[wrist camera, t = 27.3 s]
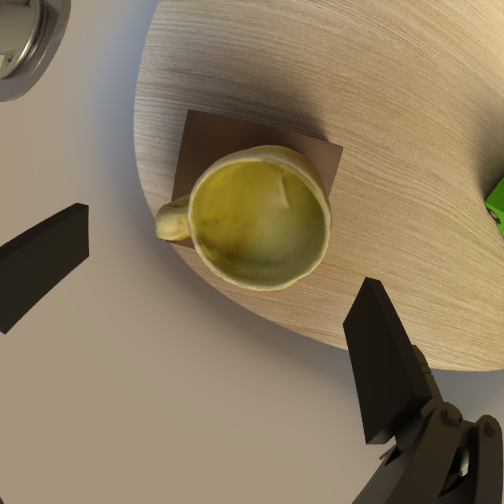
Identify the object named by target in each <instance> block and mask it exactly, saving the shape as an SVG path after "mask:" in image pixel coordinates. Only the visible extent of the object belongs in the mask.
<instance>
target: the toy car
mask: <svg viewBox="0 0 504 504" xmlns="http://www.w3.org/2000/svg"><path fill="white" fill-rule="evenodd" d="M485 204H486V206H487V211H488V212H489V214H490V215H491V216H492V217H493V219H494V220H496V221H497V222H496V224H497V226H498V227H499V229H500V231H501V233H502V235H503V237H504V177H503V178H502V179H501V181H500V182H499V184H498V185H497V186H496V188H495V189H494V190H493V192H492V193H491V194H490V196H489V197H488V198H487V200H486V201H485Z"/></svg>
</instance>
